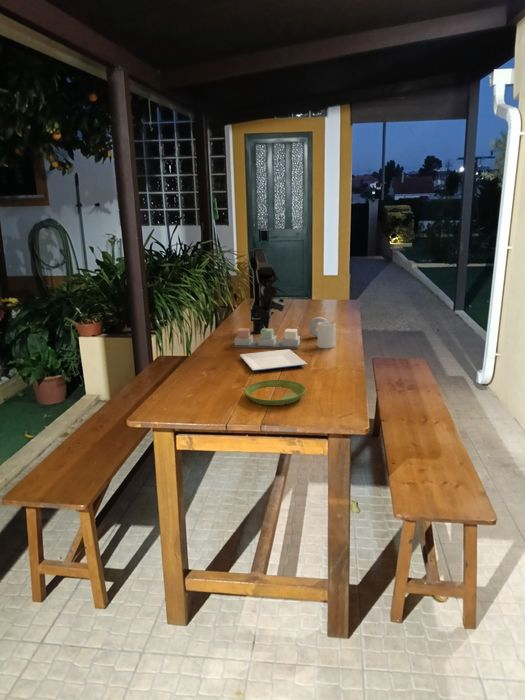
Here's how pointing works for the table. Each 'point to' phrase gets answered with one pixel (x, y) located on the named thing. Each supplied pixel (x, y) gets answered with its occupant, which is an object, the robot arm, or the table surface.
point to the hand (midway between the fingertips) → (266, 328)
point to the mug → (326, 334)
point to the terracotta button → (243, 333)
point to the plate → (272, 359)
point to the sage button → (267, 333)
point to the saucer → (294, 386)
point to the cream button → (291, 334)
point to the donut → (313, 325)
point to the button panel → (267, 343)
